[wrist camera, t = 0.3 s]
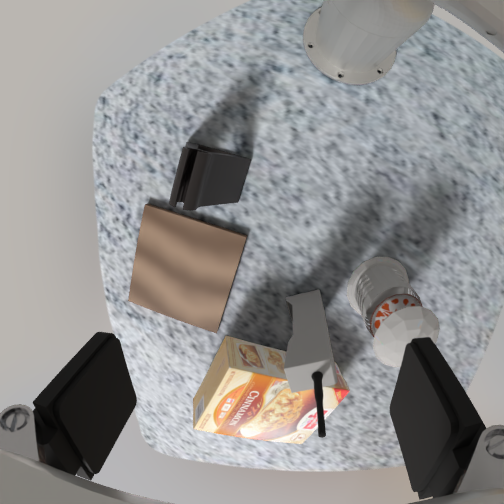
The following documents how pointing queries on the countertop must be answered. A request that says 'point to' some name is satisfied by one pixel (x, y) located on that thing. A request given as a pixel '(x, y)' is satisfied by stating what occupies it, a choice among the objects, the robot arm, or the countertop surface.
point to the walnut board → (184, 267)
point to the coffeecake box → (258, 396)
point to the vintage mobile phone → (310, 350)
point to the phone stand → (208, 177)
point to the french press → (389, 308)
